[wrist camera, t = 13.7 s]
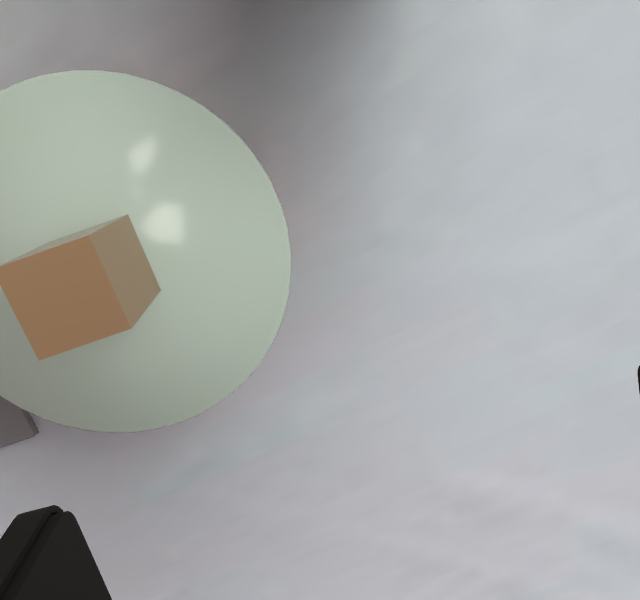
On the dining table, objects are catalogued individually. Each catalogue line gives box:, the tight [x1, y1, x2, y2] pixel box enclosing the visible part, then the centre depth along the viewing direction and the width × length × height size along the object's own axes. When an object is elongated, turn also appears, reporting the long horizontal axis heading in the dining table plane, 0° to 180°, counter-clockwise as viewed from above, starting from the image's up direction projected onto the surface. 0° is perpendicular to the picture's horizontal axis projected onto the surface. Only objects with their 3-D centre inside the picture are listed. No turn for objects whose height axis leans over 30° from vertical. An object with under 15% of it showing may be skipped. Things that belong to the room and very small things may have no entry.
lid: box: [0, 70, 291, 433], centre depth 27 cm, size 18×18×7 cm
